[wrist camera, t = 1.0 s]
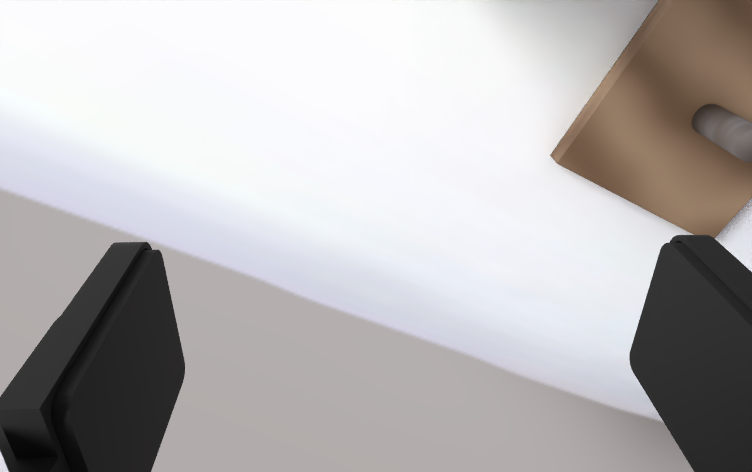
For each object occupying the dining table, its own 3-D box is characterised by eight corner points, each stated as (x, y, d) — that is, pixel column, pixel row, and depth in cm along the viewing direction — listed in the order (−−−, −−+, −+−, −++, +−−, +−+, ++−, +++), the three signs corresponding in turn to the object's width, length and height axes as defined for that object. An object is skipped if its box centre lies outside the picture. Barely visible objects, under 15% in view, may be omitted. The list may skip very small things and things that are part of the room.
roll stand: (689, -44, 34) (758, -36, 28) (848, 65, 37) (938, 92, 32) (550, 155, 40) (583, 195, 34) (699, 233, 43) (751, 281, 38)
